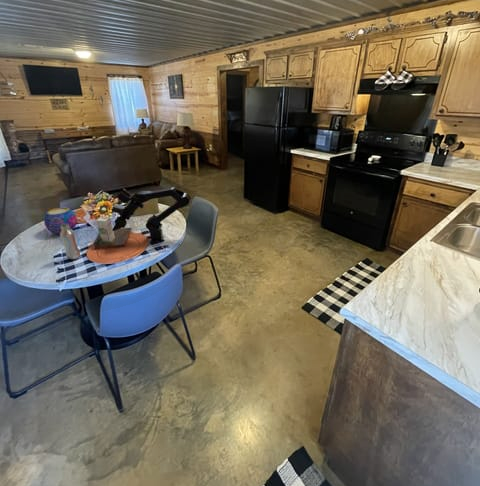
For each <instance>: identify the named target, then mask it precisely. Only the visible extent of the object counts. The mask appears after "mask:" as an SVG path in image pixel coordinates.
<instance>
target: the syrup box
mask: <svg viewBox="0 0 480 486" xmlns="http://www.w3.org/2000/svg"><path fill="white" fill-rule="evenodd" d="M95 221H96V225H97V229H98V235H99V234H100V238H101V242H111V241H112V240H113V239H114V238H115V236H114V232H113V230H112V229H113V228H114V226H113V223H112V219H111V216H100V217H98V218H97V219H96V220H95Z"/></svg>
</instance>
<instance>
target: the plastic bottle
mask: <svg viewBox="0 0 480 486" xmlns="http://www.w3.org/2000/svg"><path fill="white" fill-rule="evenodd" d="M61 230H62V231H61V233H60V234H59V238H60V239H61V241H62V243H63V246H64V250H65V256H66V258H67V259H68V260H70V261H71V260H77V259H78V258H80V256H81V251H80V249H79V247H78V245H77V241H76V236H75V234H76V233H75V231H74V229H72V230H71V229H70V227H69V224H63V225H61Z"/></svg>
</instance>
